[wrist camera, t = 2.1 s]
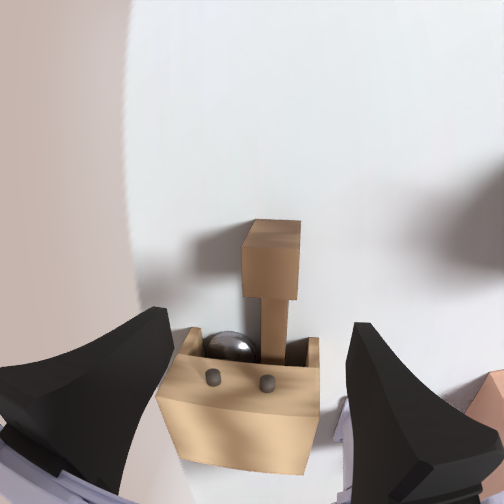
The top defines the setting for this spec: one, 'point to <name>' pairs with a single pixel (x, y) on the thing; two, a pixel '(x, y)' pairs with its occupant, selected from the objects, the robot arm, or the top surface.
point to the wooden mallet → (272, 279)
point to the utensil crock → (491, 423)
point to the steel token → (231, 347)
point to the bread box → (241, 410)
